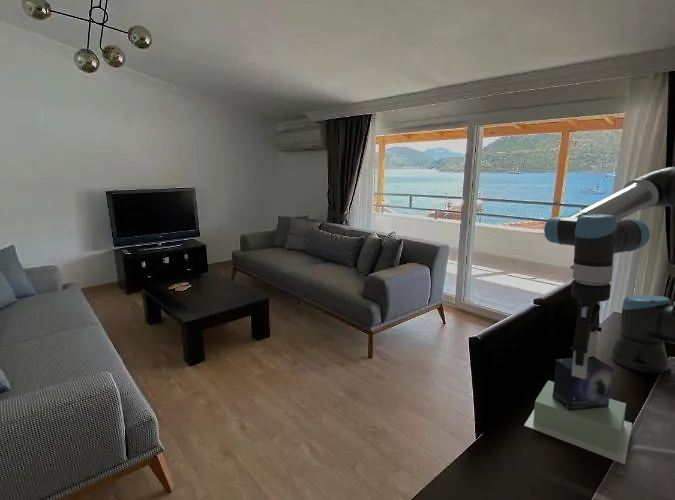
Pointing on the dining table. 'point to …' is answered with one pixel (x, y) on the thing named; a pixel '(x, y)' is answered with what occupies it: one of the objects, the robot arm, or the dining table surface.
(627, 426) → the baseplate
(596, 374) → the small box
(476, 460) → the dining table surface
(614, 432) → the base brick
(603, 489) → the dining table surface
